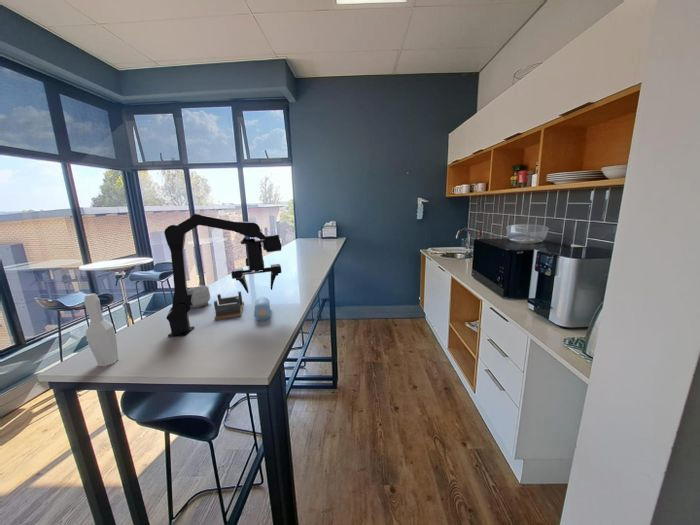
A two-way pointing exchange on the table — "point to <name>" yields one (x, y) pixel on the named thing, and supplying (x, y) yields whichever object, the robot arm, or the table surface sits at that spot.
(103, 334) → the low poly bottle
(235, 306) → the holder
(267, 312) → the roll
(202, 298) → the teacup
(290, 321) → the table surface
